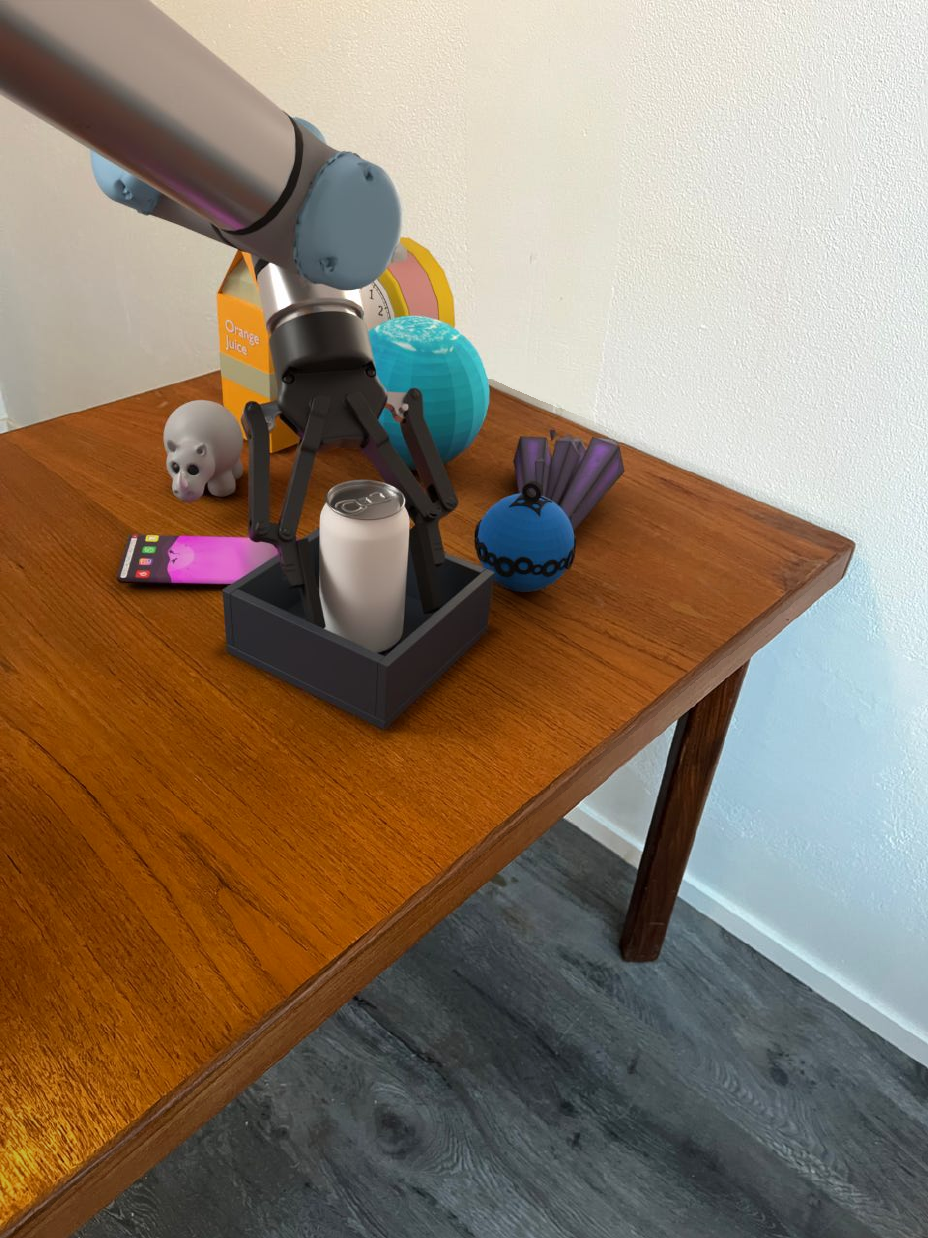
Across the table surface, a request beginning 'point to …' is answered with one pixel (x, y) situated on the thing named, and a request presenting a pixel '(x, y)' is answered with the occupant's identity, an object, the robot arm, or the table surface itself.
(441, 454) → the decorative orb
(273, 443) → the orange juice
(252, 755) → the table surface
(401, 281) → the alarm clock
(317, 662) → the tray
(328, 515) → the can
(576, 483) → the crystal
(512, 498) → the ornament
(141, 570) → the smartphone
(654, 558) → the table surface
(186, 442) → the chubby cartoon animal
